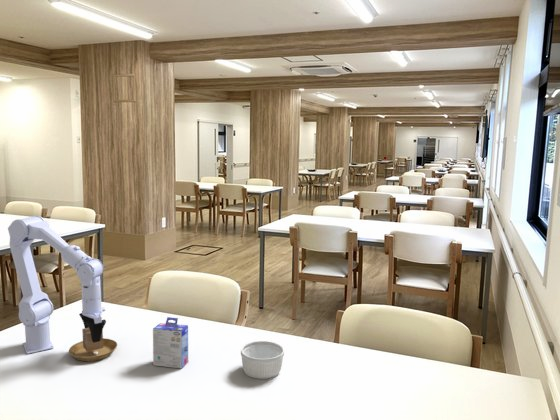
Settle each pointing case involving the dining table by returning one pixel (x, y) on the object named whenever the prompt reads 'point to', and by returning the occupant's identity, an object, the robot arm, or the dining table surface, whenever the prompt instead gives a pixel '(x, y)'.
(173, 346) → the ink cartridge box
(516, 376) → the dining table surface
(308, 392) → the dining table surface
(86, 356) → the plant saucer
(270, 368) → the ramekin
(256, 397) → the dining table surface
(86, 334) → the walnut block
